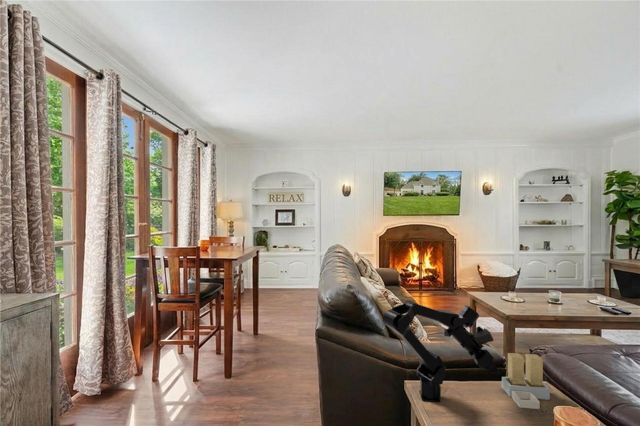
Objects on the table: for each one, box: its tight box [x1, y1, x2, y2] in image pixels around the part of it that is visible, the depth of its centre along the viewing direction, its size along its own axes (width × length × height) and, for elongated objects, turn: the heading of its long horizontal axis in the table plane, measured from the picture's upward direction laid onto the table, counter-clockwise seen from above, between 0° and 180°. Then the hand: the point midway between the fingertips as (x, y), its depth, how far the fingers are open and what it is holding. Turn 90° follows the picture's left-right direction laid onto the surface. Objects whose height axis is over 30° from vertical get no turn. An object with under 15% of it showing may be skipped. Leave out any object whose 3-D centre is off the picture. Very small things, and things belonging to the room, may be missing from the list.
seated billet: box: [525, 353, 544, 387], centre depth 122 cm, size 4×4×12 cm
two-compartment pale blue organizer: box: [501, 376, 551, 401], centre depth 123 cm, size 14×7×4 cm, turn 82°
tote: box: [511, 391, 541, 410], centre depth 116 cm, size 6×6×2 cm
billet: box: [507, 352, 525, 386], centre depth 123 cm, size 4×4×12 cm
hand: (493, 367), depth 124 cm, fingers open, 9 cm apart
